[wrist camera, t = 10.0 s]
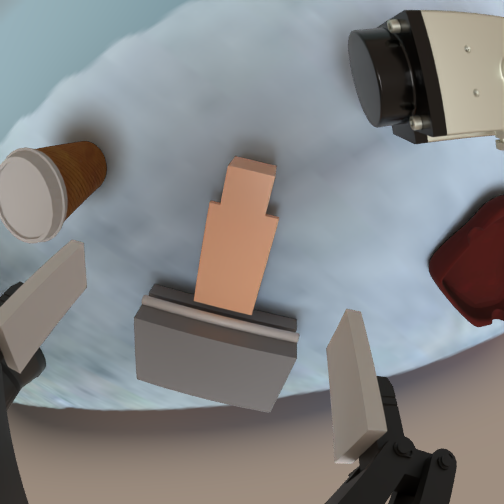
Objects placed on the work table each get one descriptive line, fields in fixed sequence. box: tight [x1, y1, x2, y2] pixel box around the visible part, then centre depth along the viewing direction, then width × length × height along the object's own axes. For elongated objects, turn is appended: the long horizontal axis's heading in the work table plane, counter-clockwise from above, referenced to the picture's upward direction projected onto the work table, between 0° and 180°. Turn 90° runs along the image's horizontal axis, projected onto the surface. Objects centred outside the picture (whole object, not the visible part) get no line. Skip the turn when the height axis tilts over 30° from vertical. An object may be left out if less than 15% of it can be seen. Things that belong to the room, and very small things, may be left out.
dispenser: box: [134, 284, 299, 413], centre depth 41 cm, size 13×19×7 cm
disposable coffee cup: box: [0, 141, 107, 243], centre depth 29 cm, size 10×10×12 cm
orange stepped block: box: [194, 156, 279, 315], centre depth 32 cm, size 18×7×4 cm, turn 168°
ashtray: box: [429, 195, 504, 327], centre depth 32 cm, size 18×16×5 cm
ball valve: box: [348, 10, 504, 150], centre depth 18 cm, size 18×8×18 cm, turn 105°
